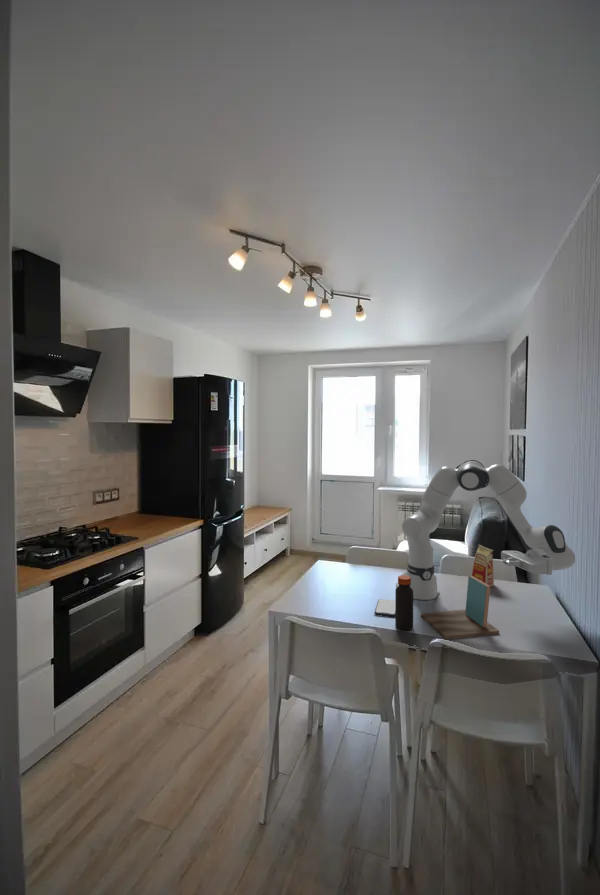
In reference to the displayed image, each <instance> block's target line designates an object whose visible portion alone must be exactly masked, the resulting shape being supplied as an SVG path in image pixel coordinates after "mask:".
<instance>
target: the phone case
mask: <svg viewBox="0 0 600 895" xmlns="http://www.w3.org/2000/svg"><path fill="white" fill-rule="evenodd" d="M374 610H375V611H374V615H375V614H376V615H375V616H377V615H382V616H381V617H385V616H388V617H387V618H395V600H394V599H393V600H391V599H381V598H379V599H378V601H377V603H376V607H375V609H374Z"/></svg>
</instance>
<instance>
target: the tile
mask: <svg viewBox="0 0 600 895" xmlns="http://www.w3.org/2000/svg"><path fill="white" fill-rule="evenodd" d="M490 592H491V588H490V586H489V585H487V584H486V583H484V582H482V581H480V580H479V579H477V578H475V577H473V576H471V575H468V581H467V590H466V601H465V602H466V603H465V609H466V611H465V614H466V615H467V616H469V617H470V618H471V619H473V620H474V621H475V622H477V623H478V624H479V625H481V626H482V627H487V622H488V617H489V616H488V615H489V604H490Z"/></svg>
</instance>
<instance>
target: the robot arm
mask: <svg viewBox="0 0 600 895" xmlns="http://www.w3.org/2000/svg"><path fill="white" fill-rule="evenodd" d="M458 487H460V488H462V489H463V490H464V491H468V492H469V491H470V492H474V491H477V490H480V489H483V488H486V487H488V488H489V489H490V490H491V491H492V492H493V494H494V495H495V496H496V497H497V499H498V500H499V502H500V504H501V507H502V510H503V512H504V515H505V516H506V517H507V519H508V520H509V522H510V524H511V525H512V527H513V528H514V529H515V531H516V533H517V535H518V537H519V539H520V543H521V544H522V546H523V547H524V548H525V549H526V550H527V551H526V552H525V553H523V552H521V551H518V550H502V551H500V559H501V560H502V563H503V564H504V565H506V566H508V567H517V568H520V569H522V570H525V571H527V572H529V573H531V574H534V575H546V576H551V575H552V574H553V571H561V570H566V569H569V568H571V567H573V566H574V564H575V562H576V555H575V553H574V551H573V550H572V549H571V548H570V547H569V546H568V544H567V543H566V540H565V539H566V538H565V535H564V532H563V531H562V530H561V529H560V528H559V527H558V526H556V525H555V524H548V525H542V526H539V527H538V526H537V527H534V526H532V525H530V523H529V522H528V520H527V518H526V516H525V515H524V513H523V512H522V510H521V507H522V505H523V504H524V503H525V501H526V499H527V495H528V494H527V493H528V492H527V490H526V488H525V486H524V484H523V483H522V482H521V481H520V480H519V479H518V477H516V475H515V474H514V473H513V472H512V471H511V470H510V469H508V468H507V467H506V466H505V465H503V464H501V463H495V464H492V465H489V467H485V466H484V464H483V463H481V461H478V460H476V459H470V460H469V459H468V460H466V461H464V462H463V463H461V464H459V465H457V466H456V468H454V467H451V466H447V465H446V466H445V465H444V466H442V467H440V468H439V469H438V470H437V472H436V473H435V474H434V475H433V477H432V479H431V480H430V482H429V484H428V486H427V487H426V489H425V491H424V493H423V494H422V496H421V503H420V505H419V508H418V510H417V511H416V512H415V513H412V514H410V515H409V516H407V517H406V518H405V519H404V520H403V522H402V524H401V529H402V533H403V534H404V535H405V536H406V537H405V538H406V542H407V545H408V562H407V563H406V565H407V566H406V568H407V569H406V570H405V571H404V572H402V574H401V575H406V576H409V577H411V585H410V587H411V588H412V589H413V600H414V599H415V600H419V601H420V600H421V601H428V600H433V599H436V598H437V596H438V595H440V590H439V589H438V579H437V576H436V575H435V565H434V548H433V546H432V544H431V539H430V534H431V533H434V532H435V531H436V530H437V528H438V527H439V525H440V521H441V520H442V516H443V513H444V511H445V509H446V507H447V505H448V503H449V502H450V500H451V498H452V496H453V494H454V493H455V491H456V489H458ZM396 586H397V587H398V586H399V584H398V582H397V583H395V587H396ZM397 587H396V588H397Z"/></svg>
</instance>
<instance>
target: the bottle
mask: <svg viewBox="0 0 600 895" xmlns="http://www.w3.org/2000/svg"><path fill="white" fill-rule="evenodd" d="M397 583H398V584H399V586H398V587H396V588H395V591H394V592H395V600H394V601H395V617H394V619H395V620H394V621H395V622H394V623H395V625H394V626H395V628H396V629H397V630H398V631H402V632H410V631H412V630H413V629H414V598H413V589H412V588H411V587H410V585H411V577H409V576H406V575H402V574H401V575H399V576H398V577H397Z"/></svg>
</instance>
